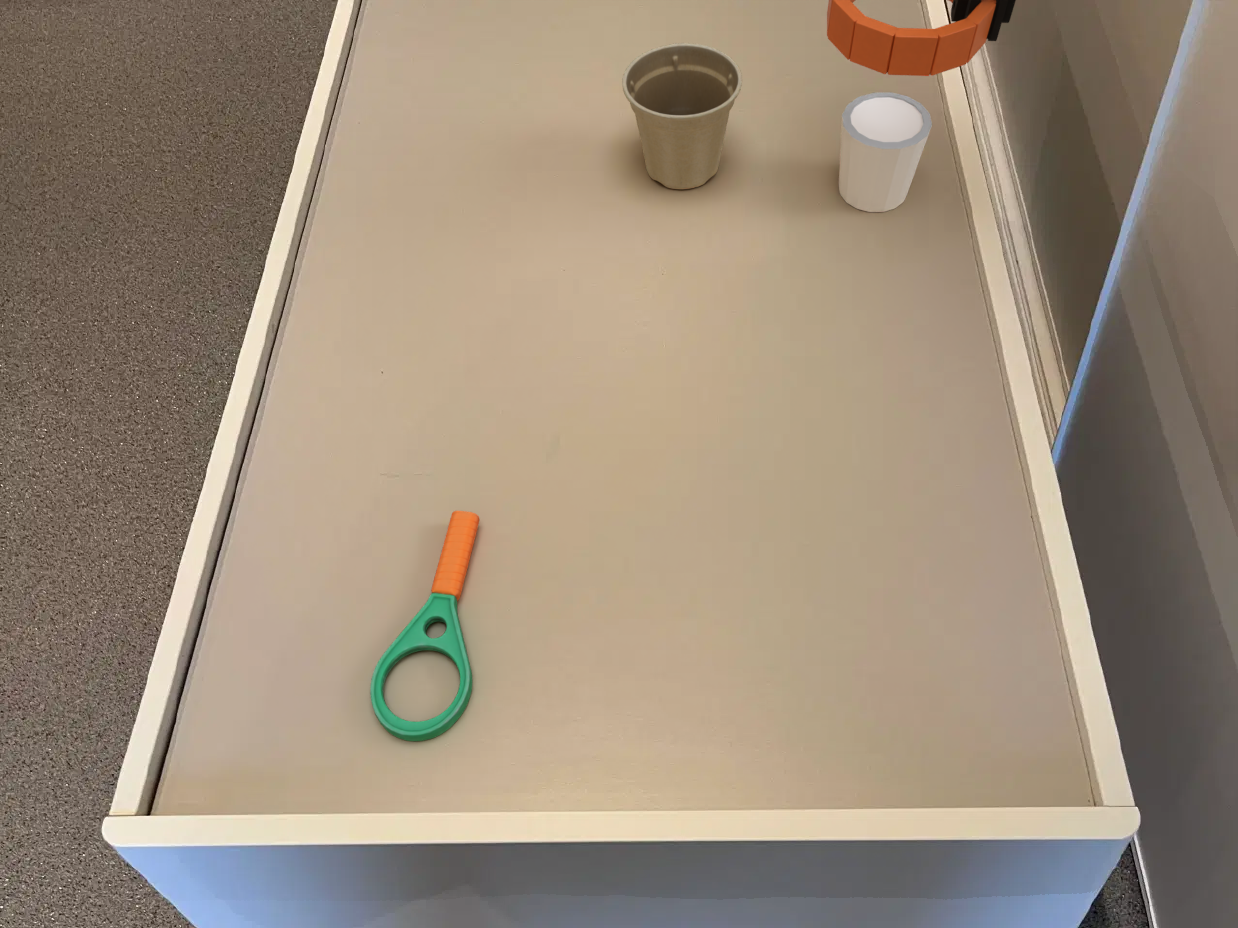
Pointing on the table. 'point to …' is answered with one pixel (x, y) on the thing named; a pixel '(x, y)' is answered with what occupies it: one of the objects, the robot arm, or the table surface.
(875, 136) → the white cylinder
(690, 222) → the table surface
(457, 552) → the magnifying glass
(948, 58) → the ring
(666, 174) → the flower pot
